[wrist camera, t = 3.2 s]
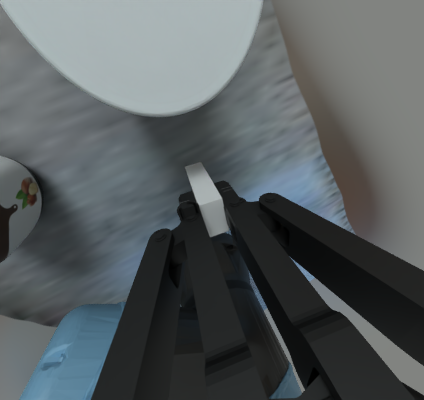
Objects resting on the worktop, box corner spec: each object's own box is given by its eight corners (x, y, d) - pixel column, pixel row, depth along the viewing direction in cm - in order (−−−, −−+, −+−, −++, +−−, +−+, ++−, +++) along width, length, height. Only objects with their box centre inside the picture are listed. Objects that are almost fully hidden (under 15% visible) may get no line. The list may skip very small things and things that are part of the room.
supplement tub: (71, 37, 16) (-198, -135, 4) (141, -59, 14) (53, -881, 2) (157, 122, 21) (156, 163, 9) (216, 58, 20) (312, 4, 7)
